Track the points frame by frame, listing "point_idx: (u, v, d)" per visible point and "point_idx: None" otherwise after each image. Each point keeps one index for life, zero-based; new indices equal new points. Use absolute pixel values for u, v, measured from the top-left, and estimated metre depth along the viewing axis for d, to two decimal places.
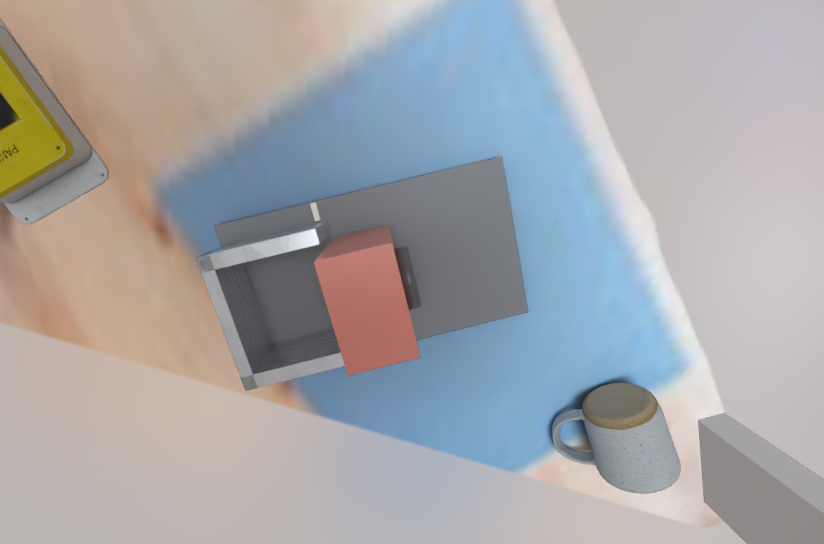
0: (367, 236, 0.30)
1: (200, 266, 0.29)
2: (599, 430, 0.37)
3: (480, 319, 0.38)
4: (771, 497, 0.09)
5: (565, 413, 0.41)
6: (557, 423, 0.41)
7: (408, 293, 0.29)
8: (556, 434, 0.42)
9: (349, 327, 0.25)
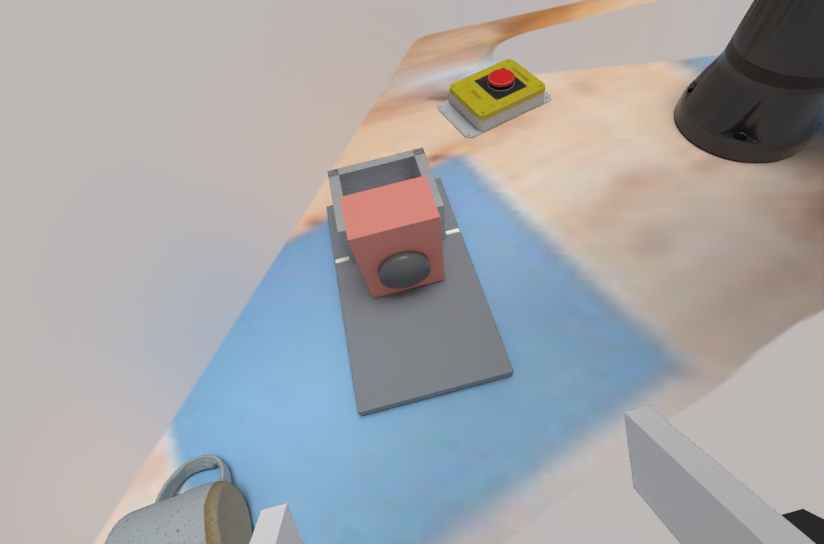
0: None
1: (416, 149, 0.44)
2: (206, 486, 0.31)
3: (355, 363, 0.39)
4: (676, 481, 0.09)
5: (228, 470, 0.35)
6: (219, 458, 0.35)
7: (394, 256, 0.36)
8: (205, 460, 0.36)
9: (376, 196, 0.35)
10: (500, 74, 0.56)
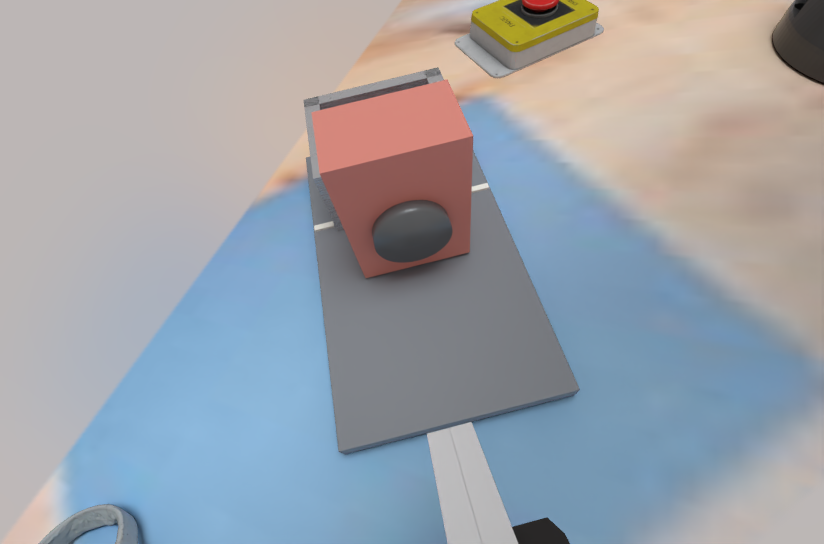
0: None
1: (430, 70, 0.31)
2: None
3: (336, 373, 0.26)
4: None
5: (134, 530, 0.23)
6: (122, 511, 0.23)
7: (397, 207, 0.23)
8: (101, 513, 0.23)
9: (369, 109, 0.22)
10: None
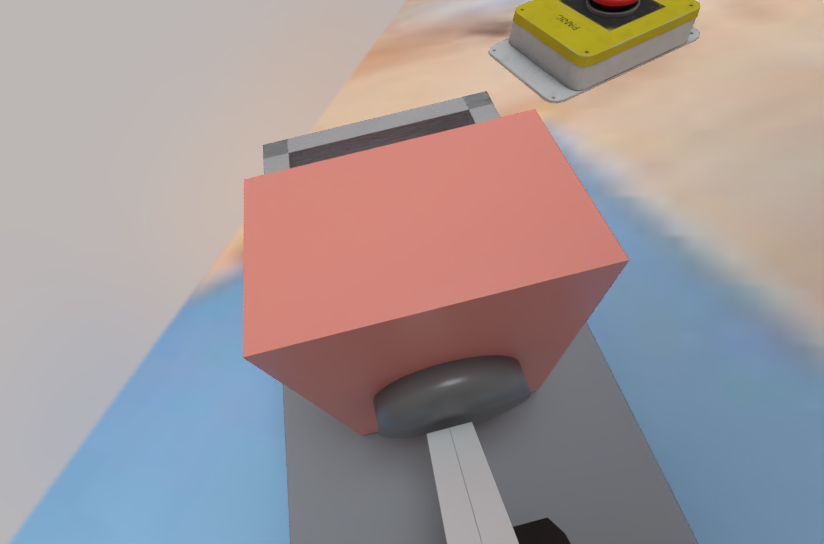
0: None
1: (473, 95, 0.19)
2: None
3: None
4: None
5: None
6: None
7: (428, 377, 0.11)
8: None
9: (369, 176, 0.10)
10: None
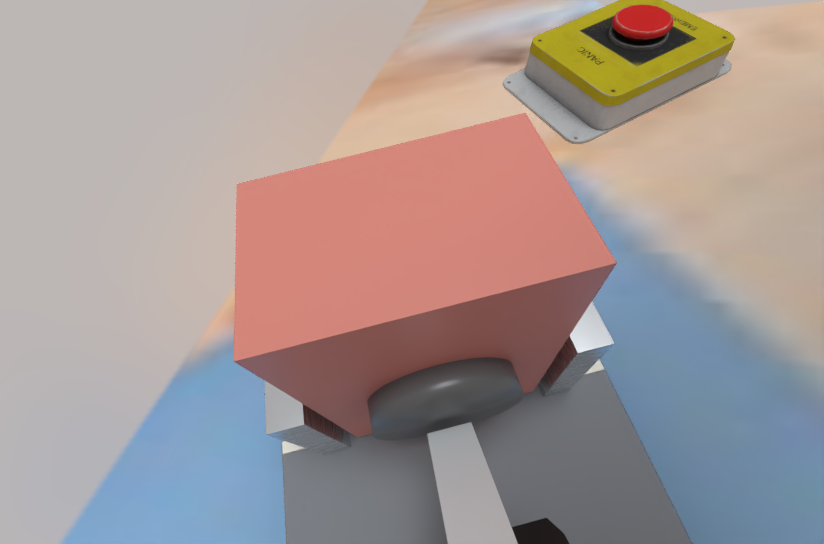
0: None
1: None
2: None
3: None
4: None
5: None
6: None
7: (420, 379, 0.11)
8: None
9: (360, 180, 0.10)
10: (640, 14, 0.27)
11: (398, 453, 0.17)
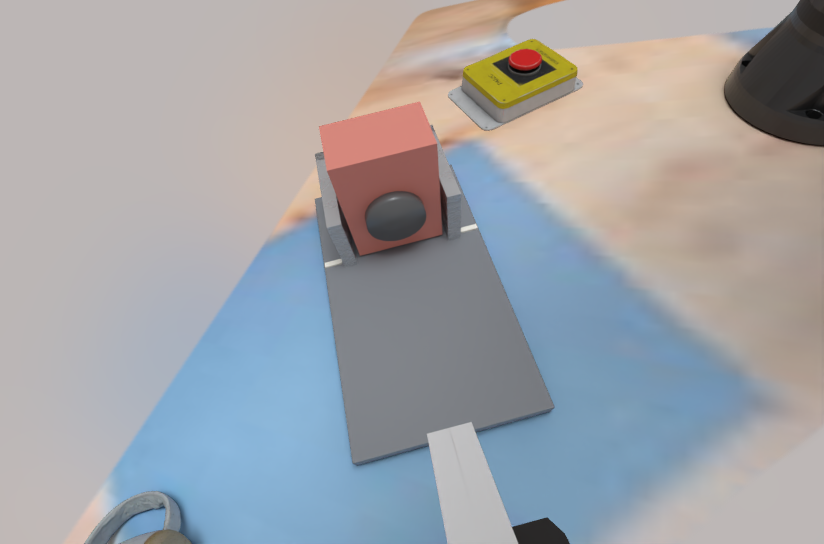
0: None
1: None
2: (140, 539, 0.23)
3: (349, 395, 0.30)
4: None
5: (178, 512, 0.27)
6: (167, 496, 0.28)
7: (384, 197, 0.30)
8: (149, 498, 0.28)
9: (362, 124, 0.29)
10: (524, 55, 0.47)
11: (379, 264, 0.36)
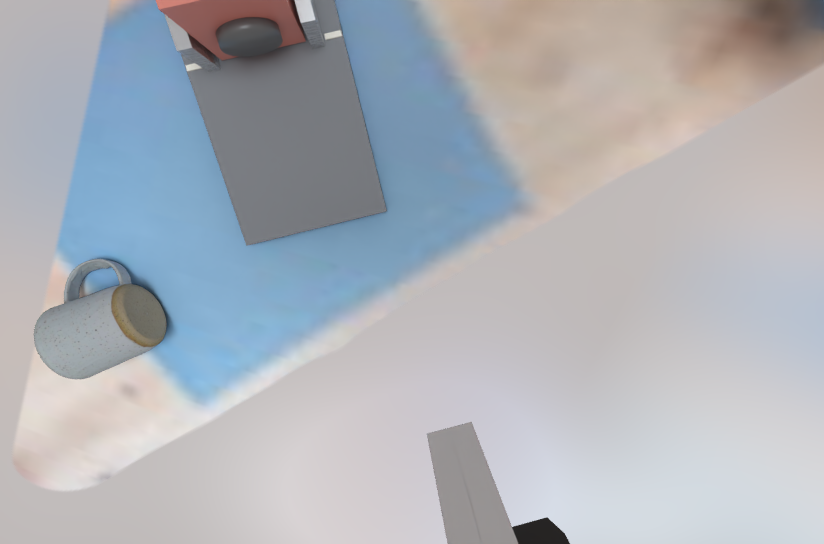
0: None
1: None
2: (107, 293, 0.37)
3: (235, 199, 0.39)
4: None
5: (124, 270, 0.40)
6: (111, 262, 0.40)
7: (231, 24, 0.29)
8: (98, 263, 0.40)
9: None
10: None
11: (244, 72, 0.37)
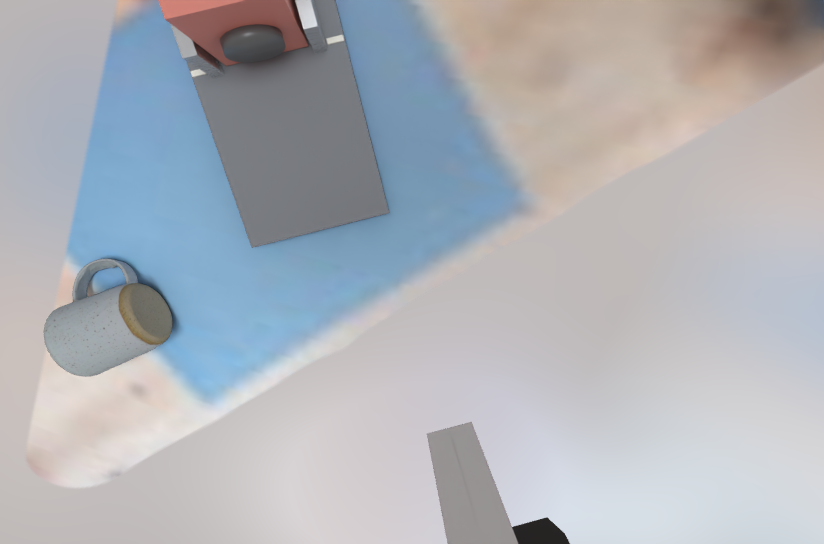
0: (292, 3, 0.32)
1: None
2: (115, 292, 0.37)
3: (240, 202, 0.40)
4: None
5: (131, 270, 0.41)
6: (118, 261, 0.40)
7: (236, 32, 0.30)
8: (105, 263, 0.40)
9: None
10: None
11: (248, 77, 0.37)
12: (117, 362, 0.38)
